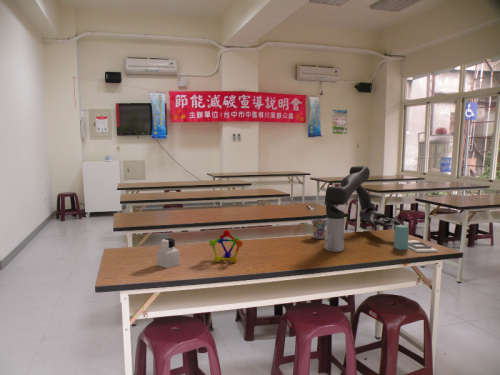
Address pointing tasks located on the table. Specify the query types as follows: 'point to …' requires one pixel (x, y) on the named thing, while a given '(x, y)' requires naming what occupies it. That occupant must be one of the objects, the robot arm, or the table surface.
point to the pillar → (401, 237)
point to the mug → (318, 228)
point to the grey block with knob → (168, 254)
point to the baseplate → (420, 246)
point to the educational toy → (227, 254)
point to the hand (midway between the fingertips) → (391, 224)
